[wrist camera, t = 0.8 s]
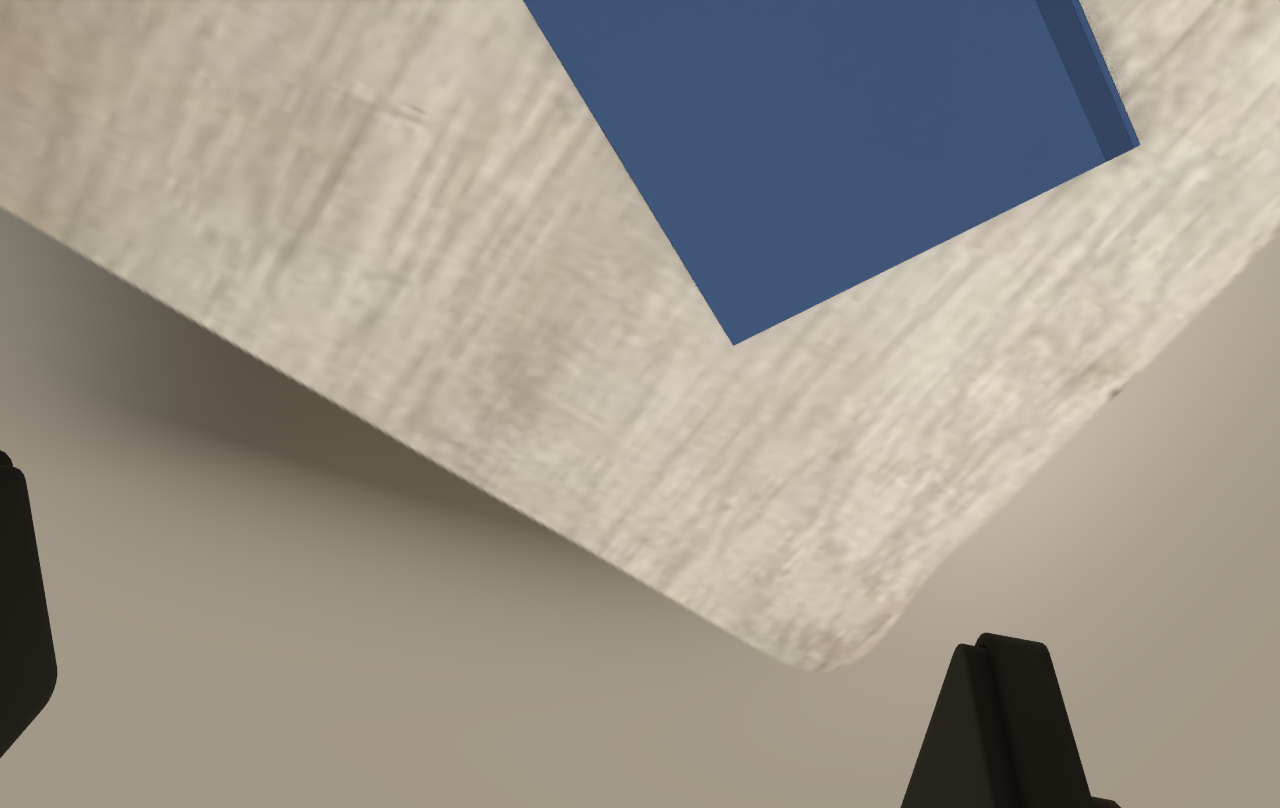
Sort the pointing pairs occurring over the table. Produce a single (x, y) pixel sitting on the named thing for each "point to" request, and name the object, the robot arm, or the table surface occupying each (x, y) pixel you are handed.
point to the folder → (834, 128)
